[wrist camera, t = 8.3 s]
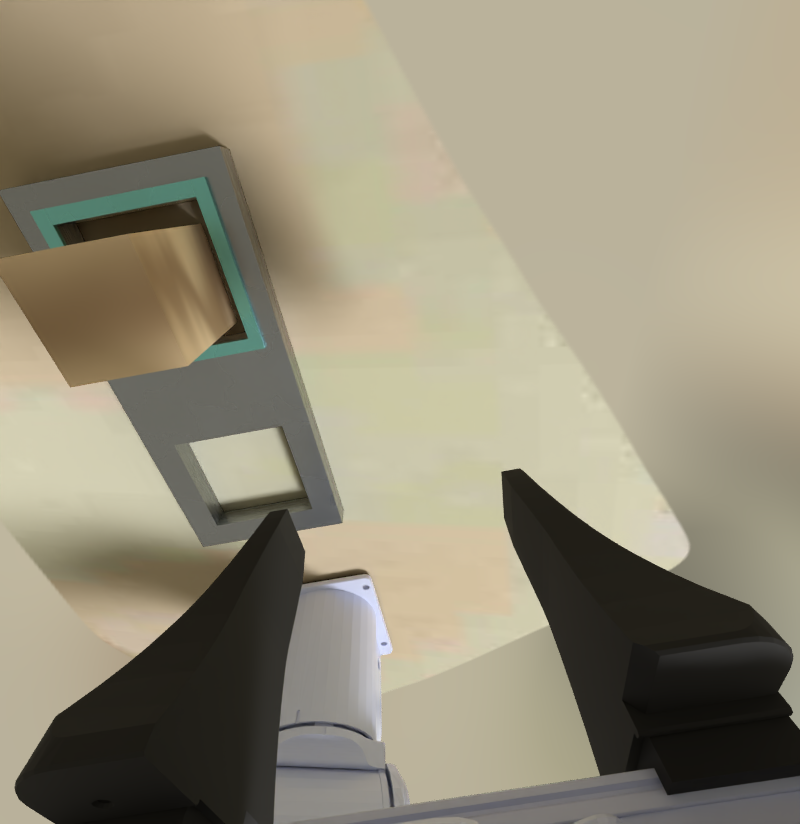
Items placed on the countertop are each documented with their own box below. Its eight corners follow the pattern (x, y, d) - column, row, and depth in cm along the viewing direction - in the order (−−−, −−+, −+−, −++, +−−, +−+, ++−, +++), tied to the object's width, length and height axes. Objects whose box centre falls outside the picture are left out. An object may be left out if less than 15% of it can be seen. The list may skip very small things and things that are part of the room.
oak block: (237, 321, 20) (188, 365, 15) (150, 337, 20) (70, 387, 15) (201, 223, 18) (127, 233, 12) (104, 242, 18) (-10, 259, 12)
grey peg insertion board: (343, 509, 26) (342, 525, 25) (210, 532, 26) (202, 549, 25) (229, 149, 16) (217, 145, 15) (21, 191, 17) (-7, 190, 15)
